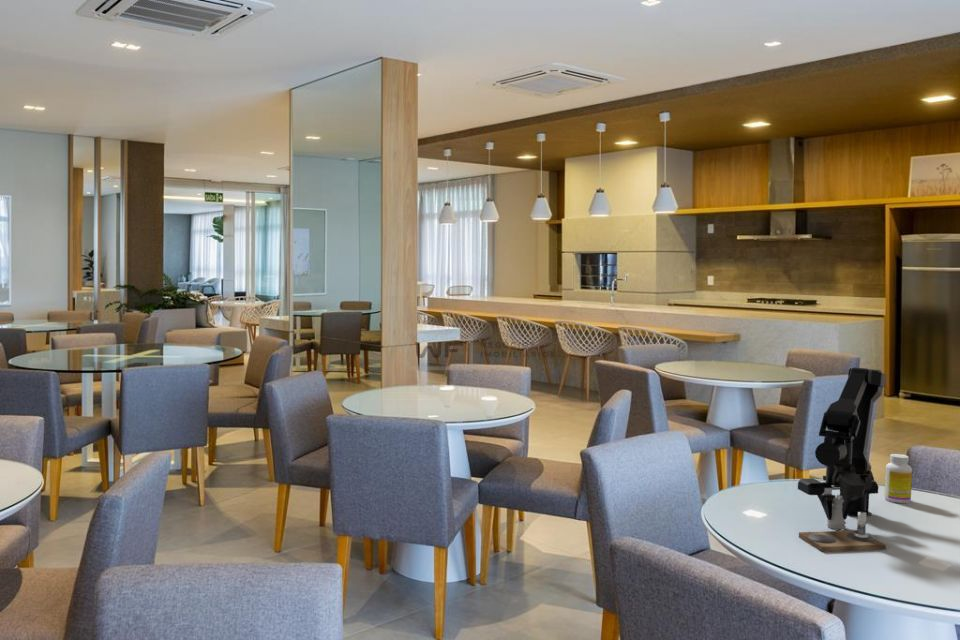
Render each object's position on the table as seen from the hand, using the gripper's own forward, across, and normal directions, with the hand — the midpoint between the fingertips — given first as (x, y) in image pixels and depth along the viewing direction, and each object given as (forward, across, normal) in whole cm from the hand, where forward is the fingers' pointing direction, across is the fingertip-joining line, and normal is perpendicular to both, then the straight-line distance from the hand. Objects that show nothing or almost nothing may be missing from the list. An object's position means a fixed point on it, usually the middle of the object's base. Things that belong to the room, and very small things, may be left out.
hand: (836, 519), depth 202 cm
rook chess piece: (+2, 0, 0) cm, 2 cm away
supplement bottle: (+2, +31, +20) cm, 37 cm away
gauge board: (+2, -6, -11) cm, 12 cm away
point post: (+1, 0, -11) cm, 11 cm away
